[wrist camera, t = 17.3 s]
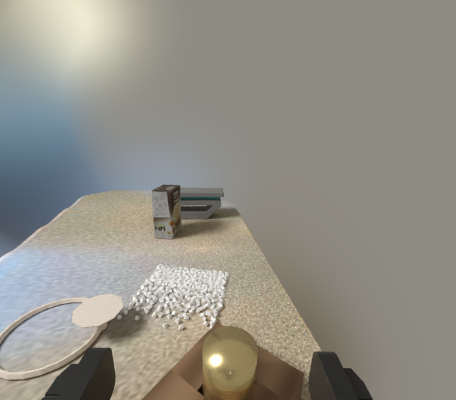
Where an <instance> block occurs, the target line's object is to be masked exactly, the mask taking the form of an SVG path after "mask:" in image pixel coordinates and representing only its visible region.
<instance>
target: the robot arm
mask: <svg viewBox="0 0 456 400" xmlns="http://www.w3.org/2000/svg"><path fill="white" fill-rule="evenodd" d="M114 385H115V369H114V362H113V356H112V350H111V348H89V349H88V350H87V351H86V353H85V354H84V356H83V357H82V359H81V361H80V362H79V364H71V365H70V366H68V367H67V368H66V369H65V370H64V371H63V372H62V373H61V374H60V375H59V376H58V377H57V378H56V379H55V380H54V382H53V383H52V385H51V386H50V388H49V389H48V391H47V392H46V394H45V397H44V398H42V400H110V398H111V396H112V393H113V390H114ZM309 390H310V395H311V399H312V400H373V399H372V397H371V395H370V393H369V391H368V390H367V388H366V386H365V384H364V382H363V381H362V380H361V379H360V378H359V377H358V376H357V375H356V373H355V372H354V371H353V370H352V369H350V368H343V367H342V365H341V363H340V361H339V359H338V357H337V355H336V354H335V353H334V352H314V353H313V358H312V364H311V369H310V375H309Z"/></svg>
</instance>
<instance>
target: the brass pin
mask: <svg viewBox="0 0 456 400" xmlns="http://www.w3.org/2000/svg"><path fill="white" fill-rule="evenodd" d="M257 354H258V350H257V345H256V342H255V340H254V338H253V337H252V336H251V335H250V334H249V333H248V332H247V331H245V330H243V329H241V328H238V327H234V326H224V327H220V328H217V329H215V330H214V331H212V332H211V333H210V334H209V335H208V336H207V337H206V339H205V341H204V343H203V348H202V359H203V395H204V399H205V400H253V397H254V390H255V378H256V366H257Z"/></svg>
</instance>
